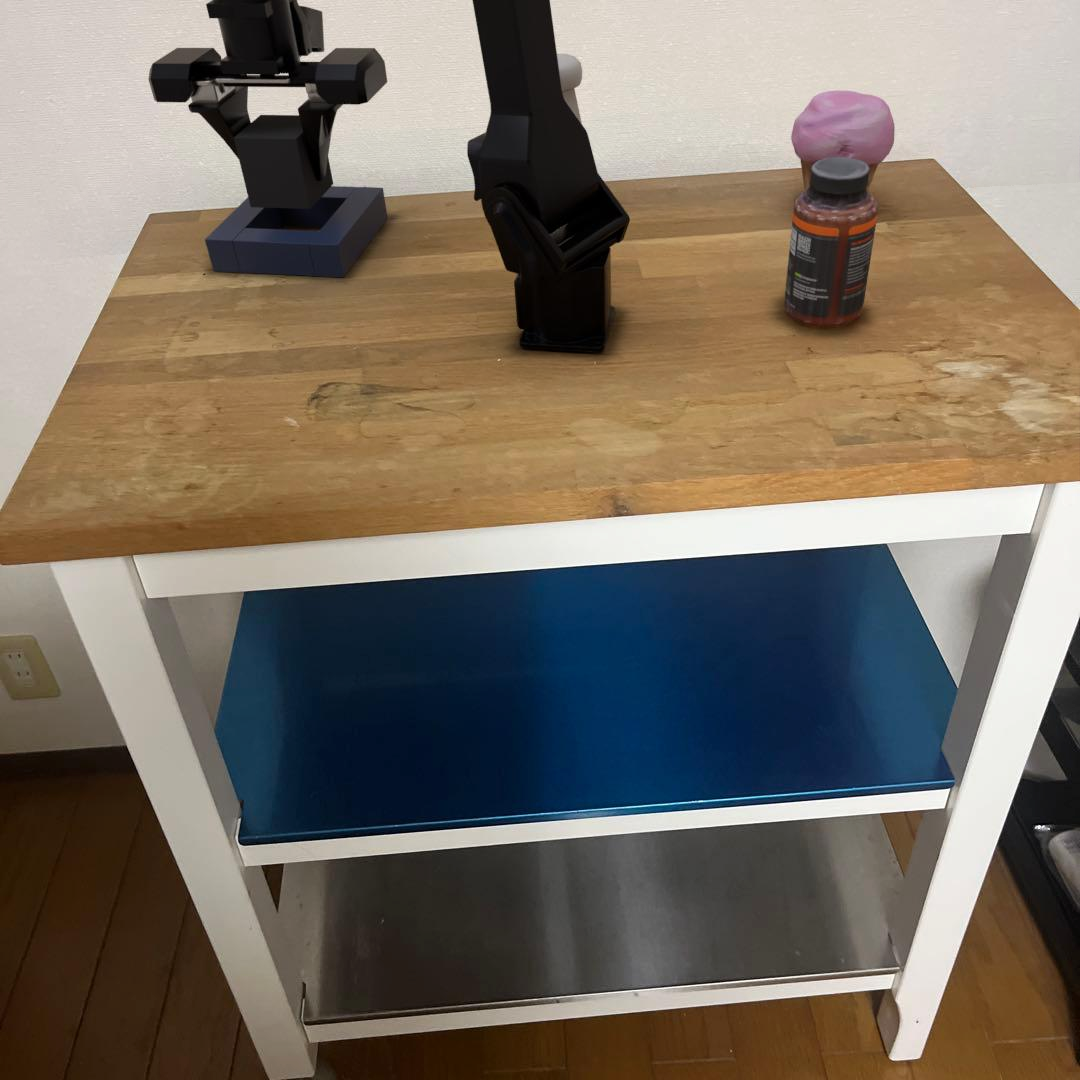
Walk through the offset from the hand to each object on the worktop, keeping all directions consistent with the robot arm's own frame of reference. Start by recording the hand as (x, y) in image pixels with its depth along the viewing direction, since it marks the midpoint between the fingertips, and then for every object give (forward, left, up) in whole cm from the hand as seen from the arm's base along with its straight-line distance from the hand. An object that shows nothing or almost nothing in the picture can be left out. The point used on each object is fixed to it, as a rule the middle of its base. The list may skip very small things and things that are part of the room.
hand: (289, 178), depth 90 cm
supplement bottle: (-46, +8, -6) cm, 47 cm away
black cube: (0, 0, -2) cm, 2 cm away
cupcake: (-47, -12, -6) cm, 49 cm away
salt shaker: (-22, -11, -6) cm, 25 cm away
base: (0, 0, -6) cm, 6 cm away
